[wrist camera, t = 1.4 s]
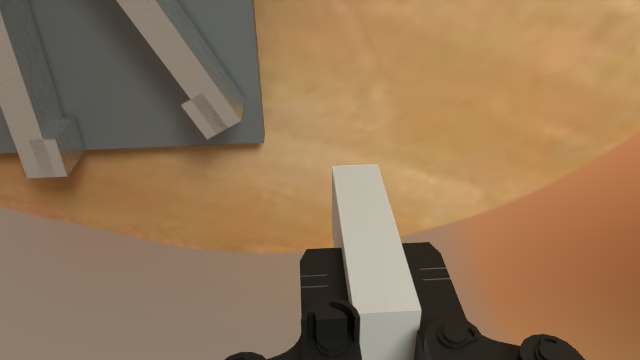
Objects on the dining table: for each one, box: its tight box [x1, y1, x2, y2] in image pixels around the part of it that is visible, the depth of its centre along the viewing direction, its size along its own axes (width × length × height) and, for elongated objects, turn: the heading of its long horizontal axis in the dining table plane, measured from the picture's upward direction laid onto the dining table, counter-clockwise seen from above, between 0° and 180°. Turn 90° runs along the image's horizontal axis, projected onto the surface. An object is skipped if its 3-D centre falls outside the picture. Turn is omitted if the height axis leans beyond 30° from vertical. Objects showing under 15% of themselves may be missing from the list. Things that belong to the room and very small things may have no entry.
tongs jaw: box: [116, 0, 245, 139], centre depth 26 cm, size 15×2×3 cm, turn 29°
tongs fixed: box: [0, 0, 85, 178], centre depth 26 cm, size 18×3×4 cm, turn 1°
